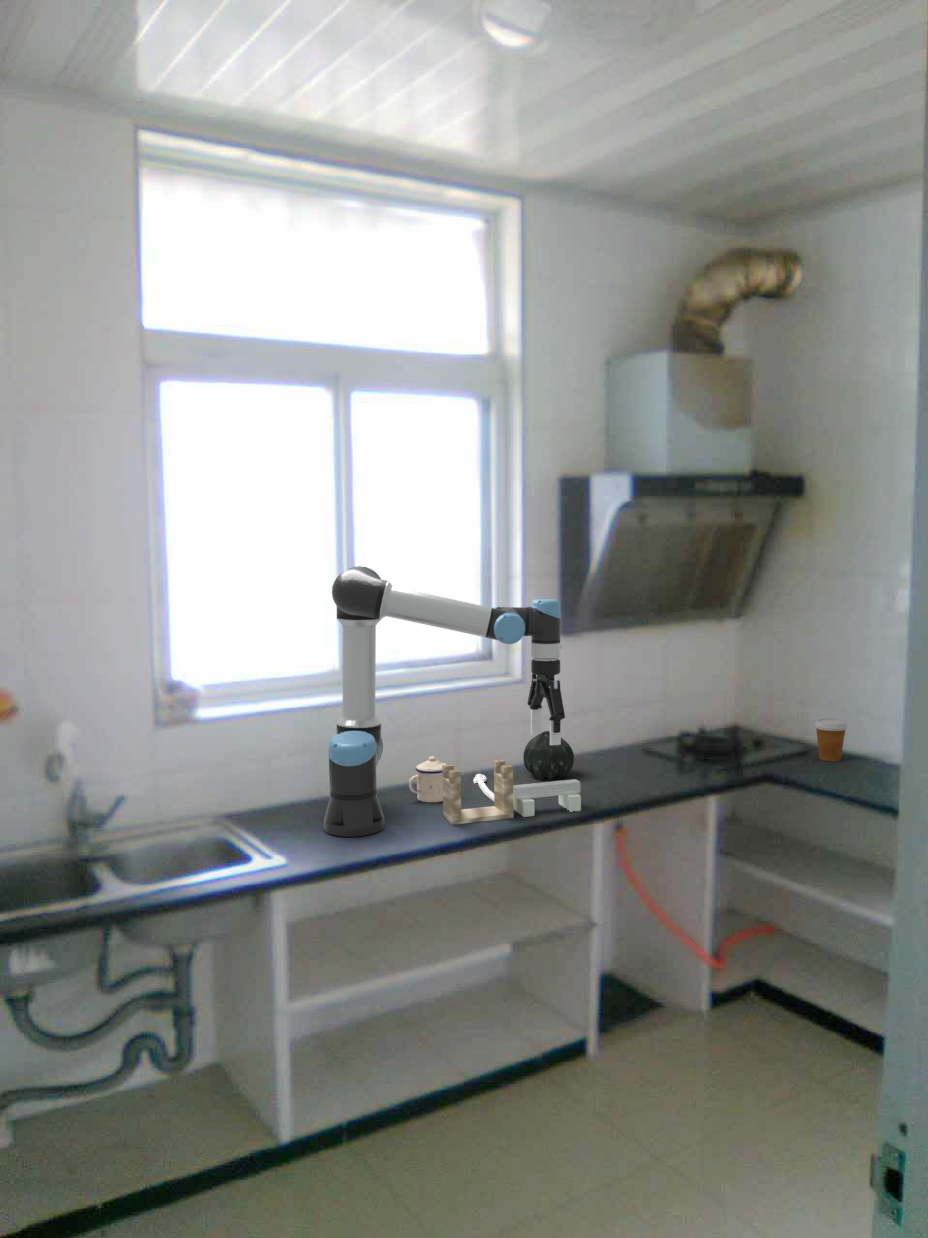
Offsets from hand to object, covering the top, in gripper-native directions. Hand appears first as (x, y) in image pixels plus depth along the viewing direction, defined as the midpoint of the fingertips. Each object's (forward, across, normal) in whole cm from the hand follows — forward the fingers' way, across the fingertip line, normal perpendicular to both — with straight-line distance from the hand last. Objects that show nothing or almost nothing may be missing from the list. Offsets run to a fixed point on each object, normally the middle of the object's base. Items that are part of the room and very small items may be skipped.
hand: (545, 739), depth 259 cm
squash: (+19, +31, -13) cm, 39 cm away
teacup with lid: (+20, +20, +26) cm, 38 cm away
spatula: (+20, +20, +8) cm, 29 cm away
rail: (+15, 0, 0) cm, 15 cm away
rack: (+19, 0, +19) cm, 27 cm away
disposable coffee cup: (+18, +20, -103) cm, 107 cm away
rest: (+19, 0, 0) cm, 19 cm away
